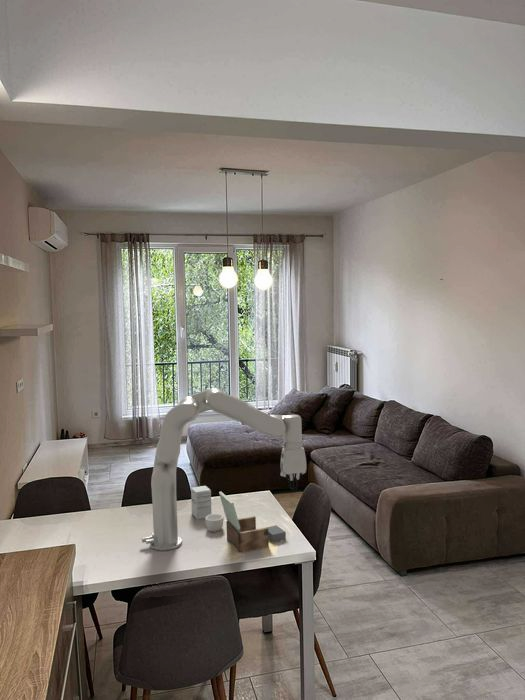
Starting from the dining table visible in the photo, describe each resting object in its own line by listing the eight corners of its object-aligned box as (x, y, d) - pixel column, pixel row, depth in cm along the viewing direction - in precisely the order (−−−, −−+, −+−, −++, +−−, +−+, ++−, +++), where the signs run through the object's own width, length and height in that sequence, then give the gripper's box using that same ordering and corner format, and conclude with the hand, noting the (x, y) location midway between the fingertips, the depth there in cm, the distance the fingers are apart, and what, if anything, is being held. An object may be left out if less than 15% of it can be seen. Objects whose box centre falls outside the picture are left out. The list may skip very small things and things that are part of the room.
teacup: (221, 533, 230) (221, 520, 230) (203, 532, 231) (203, 520, 231) (226, 524, 240) (225, 512, 240) (208, 523, 241) (208, 511, 241)
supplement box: (191, 514, 253) (190, 487, 252) (206, 511, 256) (205, 485, 255) (196, 519, 246) (195, 492, 245) (212, 516, 249) (211, 489, 248)
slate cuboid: (272, 543, 220) (272, 534, 220) (263, 536, 227) (263, 528, 227) (285, 540, 223) (285, 531, 222) (276, 533, 230) (276, 525, 229)
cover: (241, 531, 211) (239, 532, 211) (228, 519, 224) (226, 520, 224) (233, 502, 209) (230, 503, 209) (221, 491, 222) (218, 492, 222)
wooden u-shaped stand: (239, 553, 211) (238, 534, 210) (226, 538, 225) (226, 520, 224) (269, 547, 216) (268, 528, 215) (254, 533, 229) (254, 515, 229)
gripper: (279, 449, 219) (280, 494, 221) (313, 444, 225) (314, 488, 226) (272, 445, 226) (272, 488, 227) (305, 441, 232) (305, 483, 233)
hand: (293, 488), depth 227 cm, fingers closed
